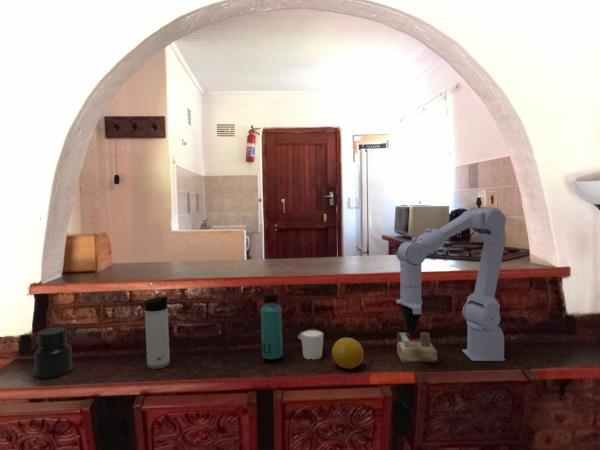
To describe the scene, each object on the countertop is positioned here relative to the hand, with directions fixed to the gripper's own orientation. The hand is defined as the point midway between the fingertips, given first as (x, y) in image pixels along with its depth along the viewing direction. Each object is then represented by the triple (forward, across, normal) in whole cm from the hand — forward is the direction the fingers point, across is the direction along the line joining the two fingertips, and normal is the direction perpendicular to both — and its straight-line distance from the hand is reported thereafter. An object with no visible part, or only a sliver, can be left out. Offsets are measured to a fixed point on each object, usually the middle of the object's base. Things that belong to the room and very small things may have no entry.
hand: (410, 332), depth 112 cm
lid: (+6, -6, +3) cm, 9 cm away
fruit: (+10, +1, -18) cm, 20 cm away
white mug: (+10, -7, -28) cm, 30 cm away
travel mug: (+10, -1, -73) cm, 74 cm away
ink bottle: (+10, +4, -101) cm, 102 cm away
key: (+6, -8, 0) cm, 10 cm away
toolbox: (+9, -6, +3) cm, 11 cm away
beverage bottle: (+10, -4, -40) cm, 41 cm away
